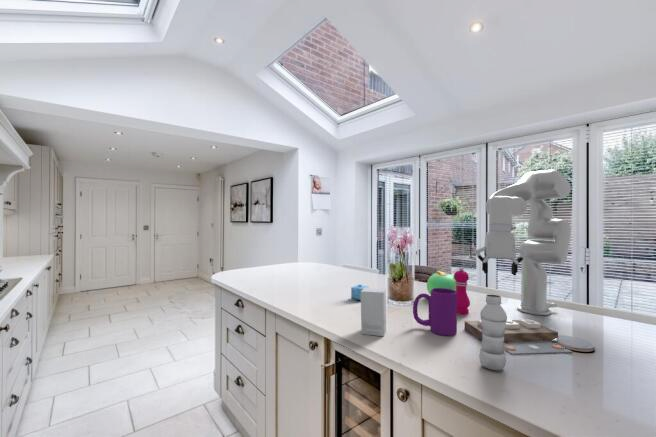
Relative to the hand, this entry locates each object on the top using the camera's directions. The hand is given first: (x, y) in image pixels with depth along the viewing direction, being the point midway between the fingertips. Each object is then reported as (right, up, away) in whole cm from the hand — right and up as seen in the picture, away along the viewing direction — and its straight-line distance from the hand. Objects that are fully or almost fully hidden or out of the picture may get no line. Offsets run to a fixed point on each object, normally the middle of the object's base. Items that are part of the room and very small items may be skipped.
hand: (499, 273), depth 118 cm
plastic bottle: (-20, -21, -32) cm, 43 cm away
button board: (-1, -21, -7) cm, 22 cm away
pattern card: (0, -21, -19) cm, 28 cm away
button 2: (+7, -19, -7) cm, 21 cm away
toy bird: (-7, -20, +38) cm, 44 cm away
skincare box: (-49, -20, -6) cm, 53 cm away
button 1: (-9, -19, -8) cm, 22 cm away
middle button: (-1, -19, -7) cm, 20 cm away
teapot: (-50, -20, +38) cm, 66 cm away
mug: (-26, -21, -4) cm, 33 cm away
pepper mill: (-7, -21, +18) cm, 28 cm away
